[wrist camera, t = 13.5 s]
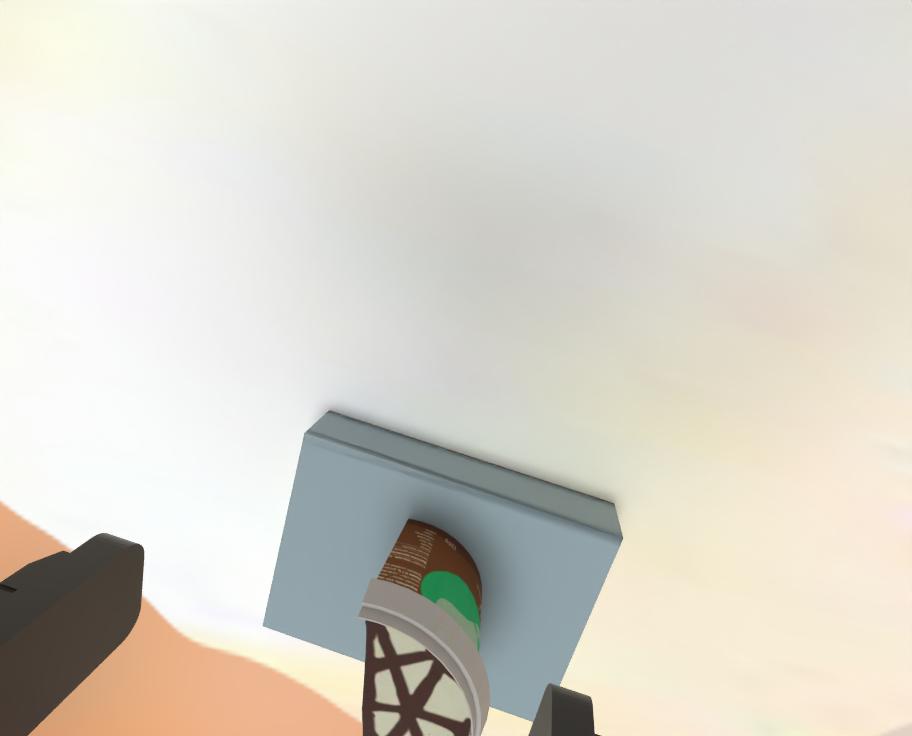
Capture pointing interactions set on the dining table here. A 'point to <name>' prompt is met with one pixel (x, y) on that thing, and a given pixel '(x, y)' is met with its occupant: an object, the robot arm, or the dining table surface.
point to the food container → (424, 640)
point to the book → (460, 515)
